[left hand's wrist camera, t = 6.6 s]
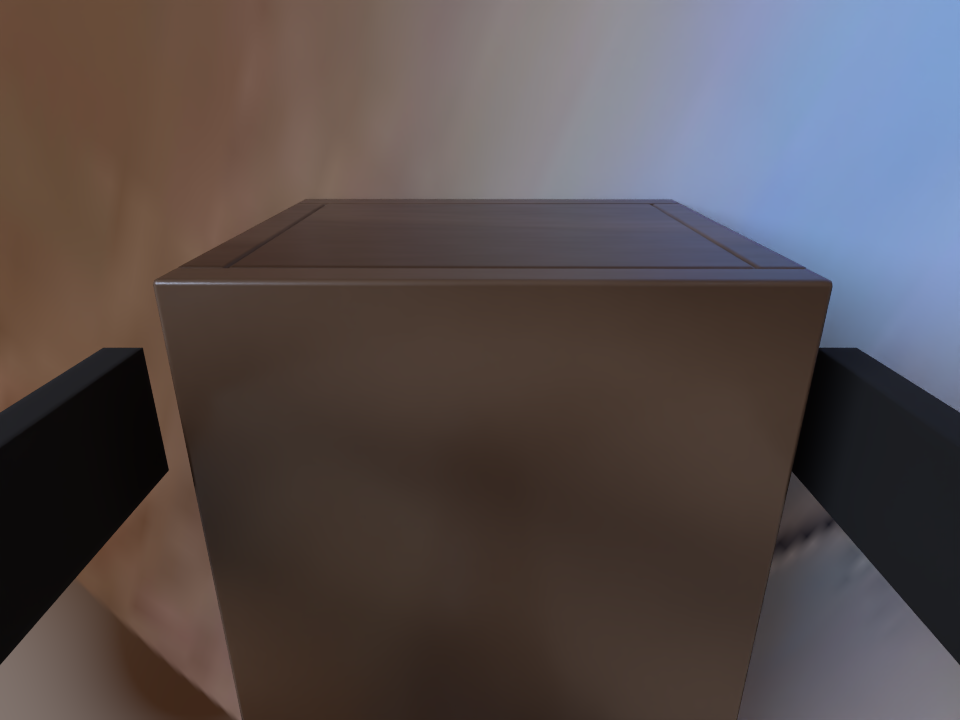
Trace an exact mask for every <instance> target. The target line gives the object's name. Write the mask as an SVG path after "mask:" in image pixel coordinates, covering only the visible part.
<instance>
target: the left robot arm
mask: <svg viewBox="0 0 960 720" xmlns="http://www.w3.org/2000/svg"><path fill="white" fill-rule="evenodd" d="M168 471H169V469H168V464H167V459H166V455H165V450H164V445H163V441H162V436H161V431H160V427H159V422H158V417H157V413H156V408H155V403H154V398H153V394H152V389H151V384H150V380H149V375H148V370H147V366H146V361H145V356H144V352H143V348H102V349H101V350H99V351H98V352H96V353H94V354H93V355H91V356H90V357H88V358H86V359H85V360H83V361H82V362H80V363H78V364H77V365H75V366H74V367H72V368H70V369H69V370H67V371H66V372H64V373H63V374H61V375H59V376H58V377H56V378H55V379H53V380H51V381H50V382H48V383H47V384H45V385H43V386H42V387H40V388H39V389H37V390H35V391H34V392H32V393H31V394H29V395H28V396H26V397H24V398H23V399H21V400H20V401H18V402H16V403H15V404H13V405H12V406H10V407H8V408H7V409H5V410H4V411H2V412H0V664H1V663H2V662H3V661H4V660H5V659H6V658H7V656H8V655H9V654H10V653H11V652H12V651H13V649H14V648H15V647H16V646H17V645H18V644H19V643H20V641H21V640H22V639H23V638H24V637H25V636H26V634H27V633H28V632H29V631H30V630H31V629H32V628H33V626H34V625H35V624H36V623H37V622H38V621H39V619H40V618H41V617H42V616H43V615H44V614H45V612H46V611H47V610H48V609H49V608H50V607H51V606H52V604H53V603H54V602H55V601H56V600H57V599H58V597H59V596H60V595H61V594H62V593H63V592H64V591H65V589H66V588H67V587H68V586H69V585H70V584H71V582H72V581H73V580H74V579H75V578H76V577H77V576H78V574H79V573H80V572H81V571H82V570H83V569H84V568H85V566H86V565H87V564H88V563H89V562H90V561H91V559H92V558H93V557H94V556H95V555H96V554H97V553H98V551H99V550H100V549H101V548H102V547H103V546H104V544H105V543H106V542H107V541H108V540H109V539H110V538H111V536H112V535H113V534H114V533H115V532H116V531H117V529H118V528H119V527H120V526H121V525H122V524H123V523H124V521H125V520H126V519H127V518H128V517H129V516H130V514H131V513H132V512H133V511H134V510H135V509H136V508H137V506H138V505H139V504H140V503H141V502H142V501H143V499H144V498H145V497H146V496H147V495H148V494H149V493H150V491H151V490H152V489H153V488H154V487H155V486H156V484H157V483H158V482H159V481H160V480H161V479H162V478H163V476H164V475H165V474H166V473H167V472H168ZM792 472H793V473H794V474H795V475H796V476H797V478H798V479H799V480H800V481H801V482H802V483H803V484H804V486H805V487H806V488H807V489H808V490H809V491H810V493H811V494H812V495H813V496H814V497H815V498H816V499H817V501H818V502H819V503H820V504H821V505H822V506H823V508H824V509H825V510H826V511H827V512H828V513H829V514H830V516H831V517H832V518H833V519H834V520H835V521H836V523H837V524H838V525H839V526H840V527H841V528H842V529H843V531H844V532H845V533H846V534H847V535H848V536H849V538H850V539H851V540H852V541H853V542H854V543H855V544H856V546H857V547H858V548H859V549H860V550H861V551H862V553H863V554H864V555H865V556H866V557H867V558H868V559H869V561H870V562H871V563H872V564H873V565H874V566H875V568H876V569H877V570H878V571H879V572H880V573H881V574H882V576H883V577H884V578H885V579H886V580H887V581H888V583H889V584H890V585H891V586H892V587H893V588H894V589H895V591H896V592H897V593H898V594H899V595H900V596H901V598H902V599H903V600H904V601H905V602H906V603H907V604H908V606H909V607H910V608H911V609H912V610H913V611H914V613H915V614H916V615H917V616H918V617H919V618H920V619H921V621H922V622H923V623H924V624H925V625H926V626H927V628H928V629H929V630H930V631H931V632H932V633H933V634H934V636H935V637H936V638H937V639H938V640H939V641H940V643H941V644H942V645H943V646H944V647H945V648H946V649H947V651H948V652H949V653H950V654H951V655H952V656H953V658H954V659H955V660H956V661H957V662H958V663H959V664H960V412H958V411H956V410H955V409H953V408H952V407H950V406H948V405H947V404H945V403H944V402H942V401H940V400H939V399H937V398H936V397H934V396H932V395H931V394H929V393H928V392H926V391H925V390H923V389H921V388H920V387H918V386H917V385H915V384H913V383H912V382H910V381H909V380H907V379H905V378H904V377H902V376H901V375H899V374H897V373H896V372H894V371H893V370H891V369H890V368H888V367H886V366H885V365H883V364H882V363H880V362H878V361H877V360H875V359H874V358H872V357H870V356H869V355H867V354H866V353H864V352H862V351H861V350H859V349H858V348H819V350H818V354H817V359H816V363H815V368H814V372H813V377H812V381H811V386H810V390H809V395H808V400H807V404H806V409H805V413H804V418H803V422H802V427H801V431H800V436H799V440H798V445H797V449H796V454H795V459H794V463H793V468H792Z"/></svg>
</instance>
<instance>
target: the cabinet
mask: <svg viewBox="0 0 960 720" xmlns="http://www.w3.org/2000/svg"><path fill="white" fill-rule="evenodd" d="M153 286H154V291H155V296H156V301H157V306H158V311H159V315H160V320H161V325H162V330H163V335H164V340H165V345H166V350H167V355H168V360H169V364H170V369H171V374H172V379H173V384H174V389H175V394H176V399H177V404H178V408H179V413H180V418H181V423H182V428H183V433H184V438H185V443H186V448H187V453H188V457H189V462H190V467H191V472H192V477H193V482H194V487H195V492H196V497H197V501H198V506H199V511H200V516H201V521H202V526H203V531H204V536H205V541H206V546H207V550H208V555H209V560H210V565H211V570H212V575H213V580H214V585H215V590H216V594H217V599H218V604H219V609H220V614H221V619H222V624H223V629H224V634H225V639H226V643H227V648H228V653H229V658H230V663H231V668H232V673H233V678H234V683H235V687H236V692H237V697H238V702H239V707H240V712H241V717H242V720H737V717H738V712H739V708H740V703H741V699H742V694H743V690H744V685H745V681H746V676H747V672H748V667H749V663H750V658H751V654H752V649H753V644H754V640H755V635H756V631H757V626H758V622H759V617H760V613H761V608H762V604H763V599H764V595H765V590H766V586H767V581H768V576H769V572H770V567H771V563H772V558H773V554H774V549H775V545H776V540H777V536H778V531H779V527H780V522H781V517H782V513H783V508H784V504H785V499H786V495H787V490H788V486H789V481H790V477H791V472H792V468H793V463H794V459H795V454H796V449H797V445H798V440H799V436H800V431H801V427H802V422H803V418H804V413H805V409H806V404H807V400H808V395H809V390H810V386H811V381H812V377H813V372H814V368H815V363H816V359H817V354H818V350H819V345H820V341H821V336H822V332H823V327H824V322H825V318H826V313H827V309H828V304H829V300H830V295H831V291H832V282H831V281H830V280H828V279H826V278H824V277H822V276H820V275H818V274H816V273H814V272H812V271H810V270H808V269H806V268H805V267H803V266H801V265H799V264H798V263H796V262H794V261H792V260H790V259H788V258H786V257H784V256H782V255H780V254H778V253H776V252H774V251H772V250H770V249H768V248H766V247H764V246H762V245H760V244H758V243H756V242H754V241H752V240H750V239H748V238H746V237H744V236H742V235H741V234H739V233H737V232H735V231H733V230H731V229H729V228H727V227H725V226H723V225H721V224H719V223H717V222H715V221H713V220H711V219H709V218H707V217H705V216H703V215H701V214H699V213H697V212H695V211H693V210H691V209H689V208H687V207H686V206H684V205H682V204H679V203H677V202H675V201H673V200H591V199H305V200H303V201H301V202H299V203H298V204H296V205H294V206H292V207H290V208H288V209H286V210H284V211H283V212H281V213H279V214H277V215H275V216H273V217H271V218H269V219H268V220H266V221H264V222H262V223H260V224H258V225H256V226H254V227H253V228H251V229H249V230H247V231H245V232H243V233H241V234H239V235H238V236H236V237H234V238H232V239H230V240H228V241H226V242H224V243H223V244H221V245H219V246H217V247H215V248H213V249H211V250H210V251H208V252H206V253H204V254H202V255H200V256H198V257H196V258H195V259H193V260H191V261H189V262H187V263H185V264H183V265H181V266H180V267H178V268H177V269H175V270H173V271H171V272H169V273H167V274H165V275H163V276H161V277H159V278H158V279H156V280H154V285H153Z"/></svg>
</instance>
